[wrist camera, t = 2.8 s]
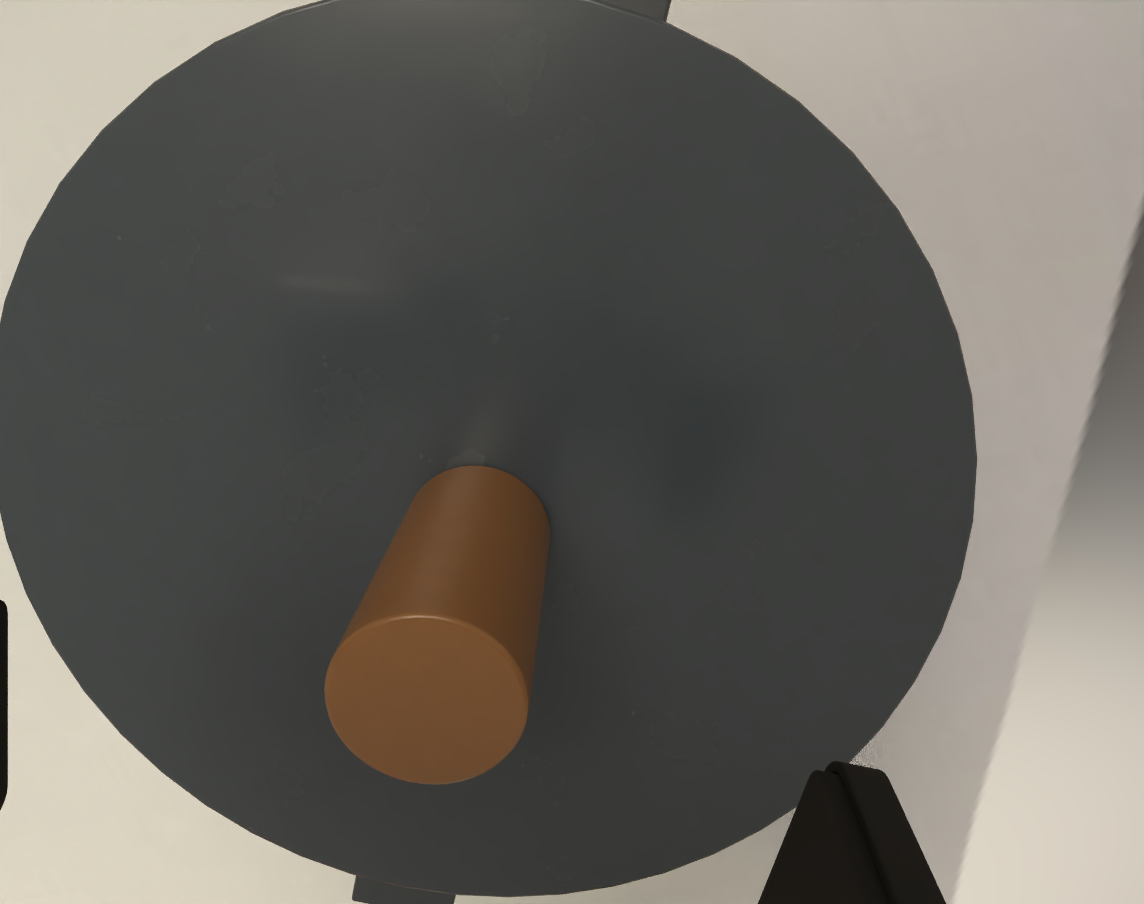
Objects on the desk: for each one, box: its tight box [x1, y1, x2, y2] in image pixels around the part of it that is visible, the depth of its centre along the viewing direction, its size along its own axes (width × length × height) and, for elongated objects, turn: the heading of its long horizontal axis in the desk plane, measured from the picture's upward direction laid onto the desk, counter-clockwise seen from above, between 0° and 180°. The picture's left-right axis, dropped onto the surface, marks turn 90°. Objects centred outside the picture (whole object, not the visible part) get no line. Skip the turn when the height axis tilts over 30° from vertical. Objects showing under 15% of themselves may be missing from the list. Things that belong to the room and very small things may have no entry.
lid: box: [0, 0, 977, 897], centre depth 14 cm, size 18×18×6 cm
